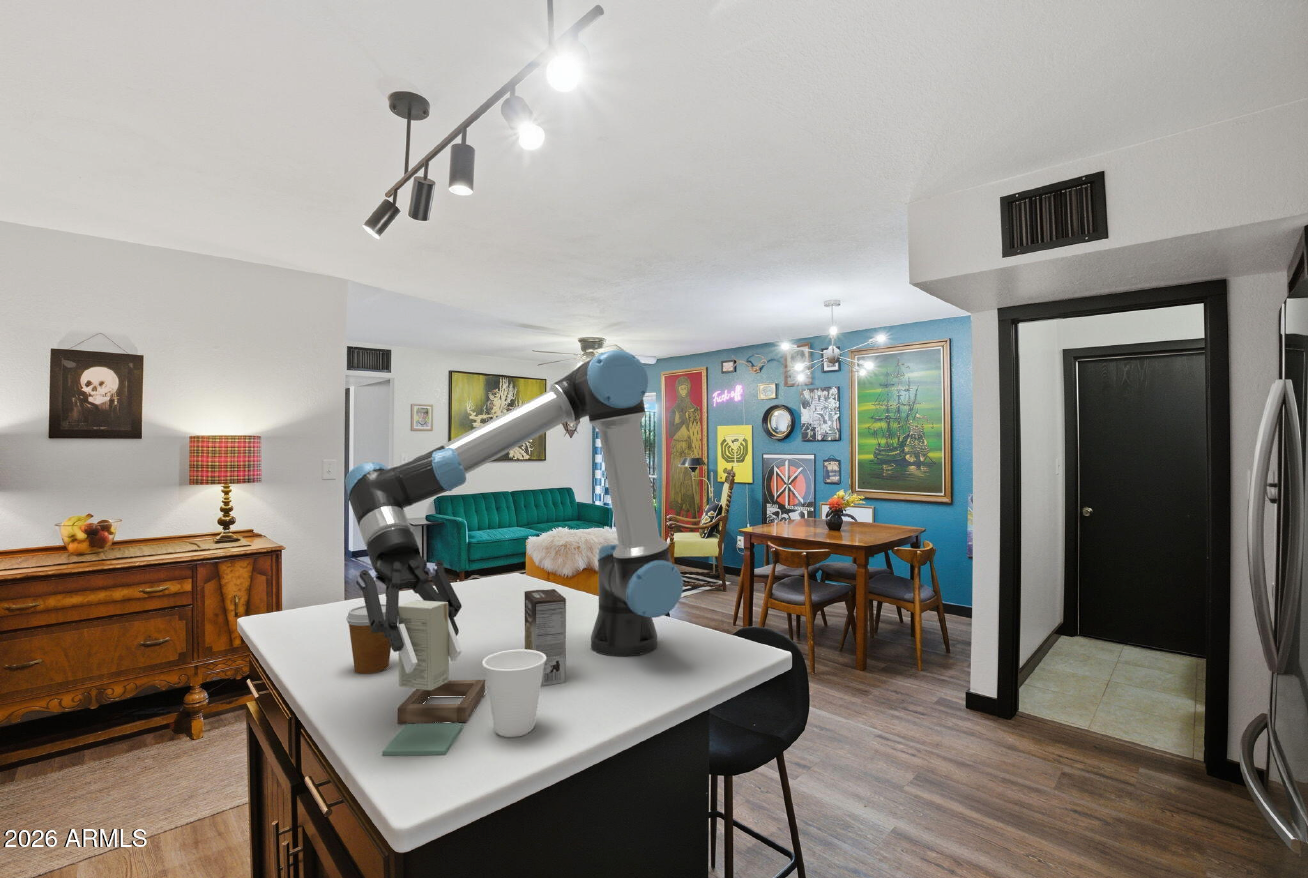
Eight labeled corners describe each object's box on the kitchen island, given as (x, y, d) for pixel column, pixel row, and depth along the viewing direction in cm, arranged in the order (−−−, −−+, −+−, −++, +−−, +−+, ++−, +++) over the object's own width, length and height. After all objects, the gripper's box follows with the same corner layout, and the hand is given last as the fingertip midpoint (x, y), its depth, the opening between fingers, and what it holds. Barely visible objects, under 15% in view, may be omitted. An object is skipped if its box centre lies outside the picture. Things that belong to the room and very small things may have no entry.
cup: (488, 717, 100) (488, 649, 101) (549, 714, 101) (549, 648, 102) (476, 745, 91) (476, 671, 91) (543, 742, 91) (543, 668, 92)
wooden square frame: (485, 693, 110) (485, 679, 110) (466, 722, 98) (466, 707, 98) (424, 694, 110) (424, 680, 110) (397, 723, 98) (397, 707, 98)
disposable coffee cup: (377, 678, 118) (377, 616, 118) (334, 675, 120) (335, 613, 120) (406, 662, 128) (407, 604, 128) (366, 659, 129) (367, 602, 130)
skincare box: (450, 681, 93) (451, 601, 94) (431, 692, 89) (432, 608, 90) (415, 676, 96) (417, 598, 96) (395, 686, 91) (397, 604, 92)
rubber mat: (463, 726, 97) (463, 723, 97) (445, 754, 88) (445, 750, 88) (406, 727, 97) (406, 723, 97) (382, 755, 88) (382, 751, 88)
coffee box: (523, 671, 121) (523, 590, 122) (555, 667, 124) (555, 587, 124) (533, 687, 113) (533, 600, 114) (566, 682, 116) (566, 597, 116)
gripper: (436, 548, 111) (483, 660, 99) (321, 561, 97) (360, 693, 85) (451, 521, 107) (501, 633, 95) (334, 530, 93) (376, 664, 81)
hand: (434, 661), depth 90 cm, fingers closed on skincare box, 6 cm apart
